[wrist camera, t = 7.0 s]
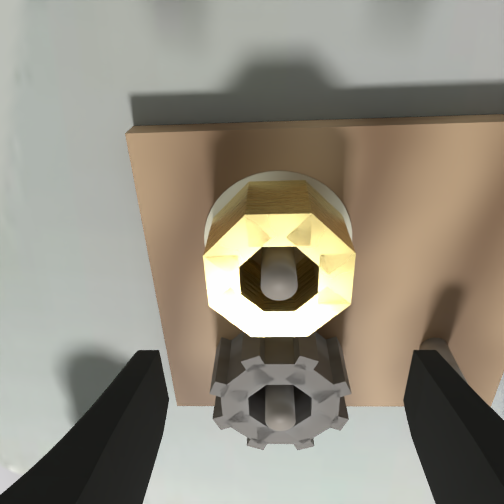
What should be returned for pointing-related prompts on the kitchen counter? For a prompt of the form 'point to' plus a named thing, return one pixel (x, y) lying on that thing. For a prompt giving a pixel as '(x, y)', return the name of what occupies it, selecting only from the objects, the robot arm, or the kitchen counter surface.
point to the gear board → (365, 271)
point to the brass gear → (279, 235)
